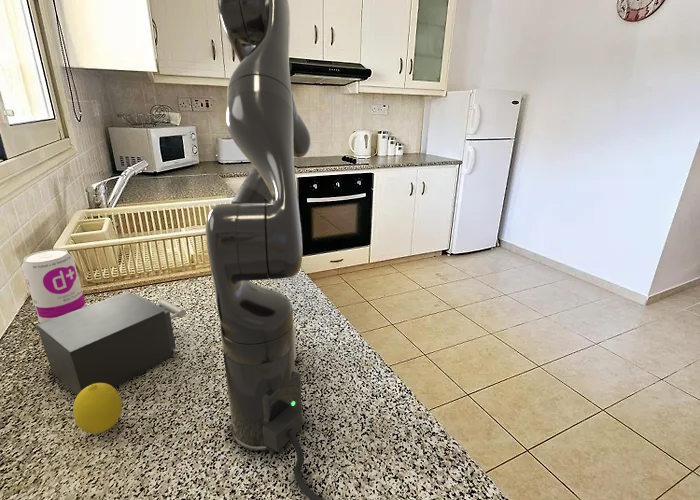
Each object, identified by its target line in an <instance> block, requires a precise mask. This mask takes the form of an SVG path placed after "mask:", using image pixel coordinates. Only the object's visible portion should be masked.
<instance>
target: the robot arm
mask: <svg viewBox="0 0 700 500" xmlns="http://www.w3.org/2000/svg"><path fill="white" fill-rule="evenodd" d="M216 1H217V9H218V14H219V18H220V22H221V25H222V29H223V30H224V33H225V35H226V37H227V40H228V42H229V44H230V46H231V48H232V50H233V52H234V53H235V55H236V57H237V60H238V61H239V64H238V65H237V66H236V68H235V69H234V71H233V72H232V73H231V76H230V78H229V80H228V82H227V83H228V84H227V89H226V105H225V124H226V128H227V130H228V133H229V135H230V137H231V139H232V140H233V142H234V143H235V145H236V147H238V149H239V150H240V152H241V153H242V154H243V155H244V157H245V158H246V159H247V160H248V162H250V163H251V164H252V166H253V167H252V169H251V171H250V173H249V174H248V175H247V176H246V177H245V179H244V181H243V182H242V184H241V185H240V187H239V188H238V190H237V192H236V194H235V195H234V197H233V199H232V201H231V203H221V204H217V205H214V206H213V207H212V208H211V209H210V210H209V212H208V214H207V217H206V222H205V244H206V245H205V246H206V252H207V258H208V262H209V263H208V264H209V268H210V273H211V278H212V283H213V290H214V294H215V295H214V296H215V301H216V308H217V314H218V315H217V316H218V320H219V329H220V337H221V345H222V354H223V364H224V371H225V380H226V387H227V394H228V404H229V411H230V418H231V419H230V420H231V433H232V437H233V439H234V441H235V442H236V443H237V444H238V445H239V446H241V447H242V448H244V449H246V450H249V451H254V452H255V451H257V452H263V451H267V452H269V454H275V453H278V452H279V451H280V450H282V448H283V447H285V445H287V444H288V442H290V443H291V444H292V447H293V448H294V450H295V455H296V462H295V465H294V468H293V469H294V471H293V472H294V478H295V481H296V483H297V486H298V487H299V489H300V490H301V492H303V494H304V495H305V496H306V497H307V498H308V499H309V500H324V499H323V498H322V497H320V496H319V495H318V494H316V493H315V492H314V491H313V490H312V489H311V488H310V487H309V486H308V485H307V483H306V482H305V480H304V477H303V474H302V468H303V465H304V460H305V457H304V450H303V447H302V445H301V443H300V441H299V439H298V437H297V433H298V432H300V430H301V429H302V428H303V404H302V377H301V376H302V375H301V373H300V372H299V371H297V370H296V368H295V367H296V363H295V362H296V360H295V359H294V331H293V324H294V309H293V305H292V301H290V299H289V298H288V297H287V296H286V295H284V294H282V293H281V292H279V291H276V290H273V289H270V288H266V287H263V286H261V285H258V284H256V283H254V282H253V281H265V280H266V281H268V280H284V279H290V278H293V277H295V276H297V275H298V273H299V272H300V270H301V267H302V262H303V251H304V250H303V249H304V248H303V231H302V222H301V221H302V220H301V213H300V205H299V197H298V189H297V188H298V187H297V181H296V172H295V158H296V159H300V158H304V156H306V155H307V154H308V153H309V151H310V148H311V141H312V139H311V135H310V131H309V129H308V127H307V126H306V123H304V120H303V119H302V117H301V116H300V115H299V113H298V110H297V106H296V101H295V98H294V94H293V91H292V82H291V71H290V70H291V69H290V44H291V43H290V42H291V40H290V39H291V12H290V11H291V10H290V4H289V0H216Z"/></svg>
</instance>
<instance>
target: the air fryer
mask: <svg viewBox="0 0 700 500" xmlns="http://www.w3.org/2000/svg"><path fill="white" fill-rule="evenodd" d="M36 328H37V330H38V334H39V337H40V340H41V343H42V346H43V349H44V352H45V354H46V357H47V361H48V364H49V367H50V371H51V373H52V374H53V375H55V377H57V379H58V380H60V381H61V382H62V384H63V385H65V386H66V387H67V388H68V390H70V391H71V392H72V393H73V394H74V395H76V396H77V395H78V394H79V393H80V392H81V391H82V390H83V389H84V388H86V387H87V386H89V385H91V384H95V383H106V384H109V385H111V386H112V387H114V388H115V389H116V388H117V387H119V386H120V385H122V384H124V383H126V382H128V381H129V380H131V379H133V378H135V377H137V376H139V375H141V374H142V373H144V372H146V371H148V370H149V369H151V368H153V367H155V366H157V365H158V364H161V363H162V362H164V361H166V360H168V359H169V358H171V357H173V351H172V350H173V349H172V350H171V345H170V339H169V334H168V328H167V323H166V317H165V312H164V311H163V310H161V309H159V308H158V307H156V306H154V305H152V304H150V303H148V302H146V301H145V300H143V299H141V298H139V297H137V296H135V294H133V293H131V292H130V291H125V292H121V293H119V294H116V295H113V296H111V297H108V298H106V299H103V300H100V301H98V302H97V301H96V302H94V303H92V304H89V305H86V307H83V308H81V309H78V310H75V311H72V312H70V313H67V314H64V315H61V316H59V317H56V318H53V319H50V320H48V321H45V322H42V323H40V322H39V323H37V324H36Z"/></svg>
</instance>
